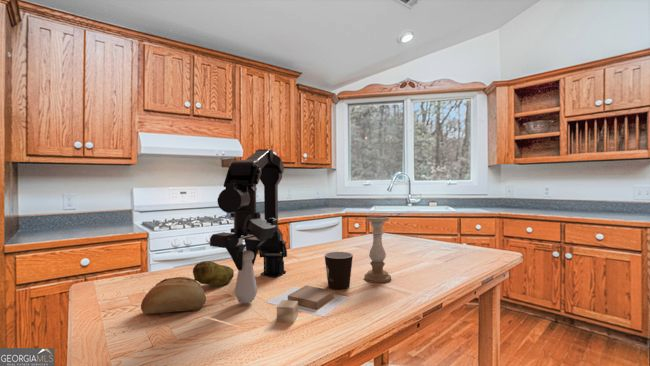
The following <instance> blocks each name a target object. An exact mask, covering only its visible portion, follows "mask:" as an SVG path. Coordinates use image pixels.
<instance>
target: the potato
mask: <svg viewBox="0 0 650 366" xmlns="http://www.w3.org/2000/svg"><path fill="white" fill-rule="evenodd" d="M234 272H235V271H234V269H233V268H232V267H230V266H227V265H223V264H218V263H216V262H214V261H211V260H204V261H200V262H198V263H196V264H194V267H193V268H192V274H193V278H194V280H195V281H197V282H198V283H199V284H200V285H210V286H215V287H218V286H223V285H225V284H228V283H229V282H230V281H231V280H233V279H234V276H235V275H234V274H235V273H234Z"/></svg>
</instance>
